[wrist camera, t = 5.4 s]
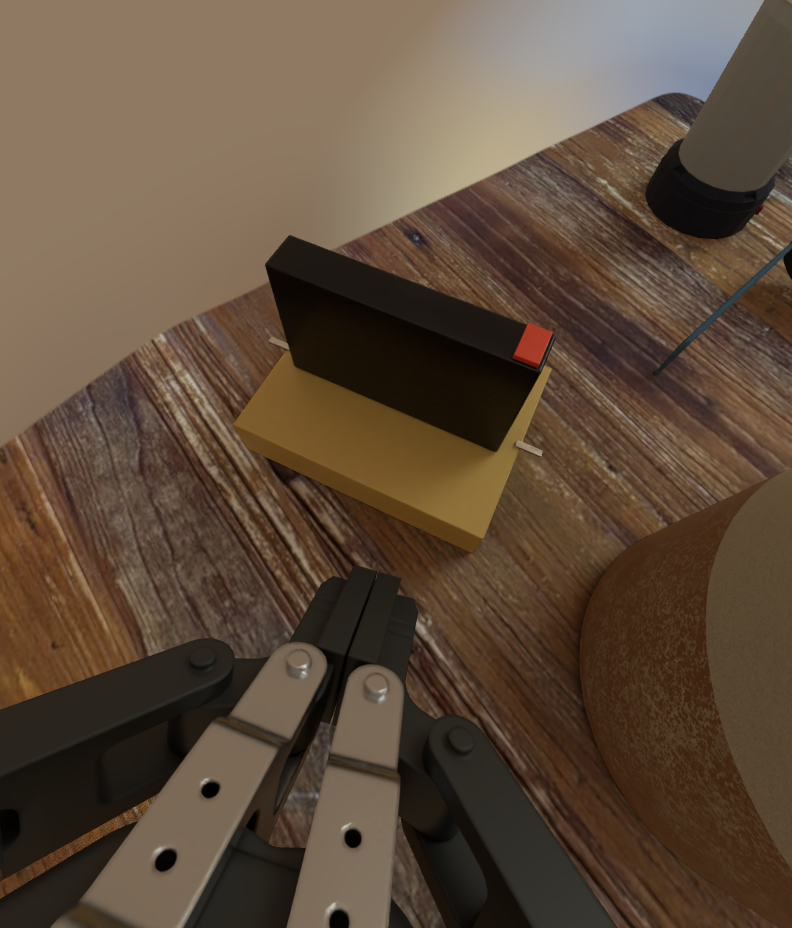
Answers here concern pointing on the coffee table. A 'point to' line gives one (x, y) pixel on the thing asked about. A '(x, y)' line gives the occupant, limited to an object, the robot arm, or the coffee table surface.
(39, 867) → the coffee table surface
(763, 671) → the planter
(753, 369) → the coffee table surface
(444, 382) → the block
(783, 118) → the humidifier
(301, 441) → the plate
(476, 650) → the coffee table surface
